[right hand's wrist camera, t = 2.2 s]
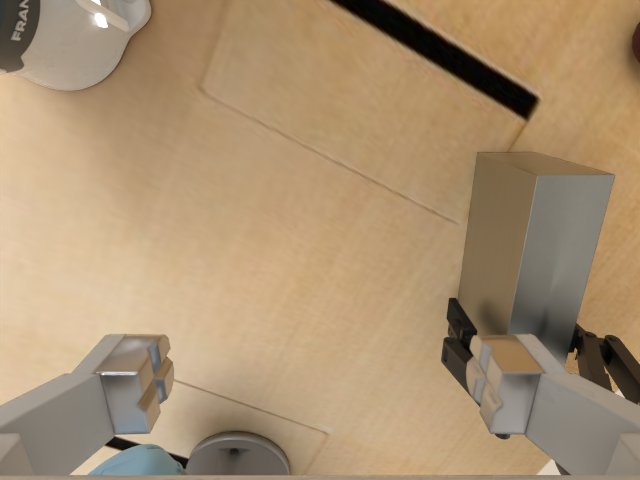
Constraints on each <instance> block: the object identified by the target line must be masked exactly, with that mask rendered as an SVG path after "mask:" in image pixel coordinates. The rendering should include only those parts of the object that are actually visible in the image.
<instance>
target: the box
mask: <svg viewBox="0 0 640 480" xmlns="http://www.w3.org/2000/svg"><path fill="white" fill-rule="evenodd" d="M614 178H615V174H611V173H607V172H604V171H600V170H597V169H593V168H590V167H586V166H582V165H579V164H575V163H572V162H568V161H564V160H561V159H557V158H554V157H550V156H546V155H543V154H539V153H536V152H481V153H477V160H476V167H475V175H474V182H473V190H472V197H471V205H470V212H469V220H468V227H467V235H466V242H465V250H464V257H463V265H462V272H461V280H460V287H459V295H458V302H459V304H460V305H461V307H462V308H463V310H464V311H465V313H466V314H467V316H468V317H469V319H470V320H471V322H472V323H473V325H474V326H475V328H476V329H477V335H511V334H532V335H534V336H536V337H537V338H538V340H539V341H540V342H541V343H542V344H543V345H544V346H545V347H546V349H547V350H548V351H549V352H550V353H551V354H552V355H553V356H554V357H555V359H556V360H557V361H558V362H559V363H560V364H561V365H562V366H563V367H565V363H566V359H567V355H568V352H569V348H570V344H571V340H572V336H573V333H574V329H575V325H576V321H577V318H578V314H579V310H580V306H581V302H582V299H583V295H584V291H585V287H586V283H587V280H588V276H589V272H590V268H591V265H592V261H593V257H594V253H595V249H596V246H597V242H598V238H599V234H600V231H601V227H602V223H603V219H604V215H605V212H606V208H607V204H608V200H609V197H610V193H611V189H612V185H613V181H614Z"/></svg>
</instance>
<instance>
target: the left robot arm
mask: <svg viewBox="0 0 640 480" xmlns="http://www.w3.org/2000/svg"><path fill="white" fill-rule="evenodd" d="M447 320H448V322H449V327H448V335H449V336H450V337H446V338H444V342H443V349H442V358H441V361H442V363H443V364H444V365H445V366H446V368H447V369H448V370H449V371H450V372H451V374H452V375H453V376H454V377H455V378H456V379H457V381H458V382H459V383H460V384H461V385H462V387H463V388H464V389H465V390H466V391H467V392H468V394H469V395H470V396H471V394H470V392H469V389H468V386H467V380H466V368H467V362H468V361H469V360H470V359H471V358H472V357H473V356H474V355H473V354H472V352H471V350H470V343H471V339H472V337H473V335H477V329H476V328H475V326H474V325H473V323H472V322H471V320H470V319H469V317H468V316H467V314H466V313H465V311H464V310H463V308H462V307H461V305H460V304H459V302H458V301H457V299H456V298H449V304H448V312H447ZM575 348H576V349H577V354H576V358H575V360H576V359H577V360H578V367H579V374H580V376H581V377H583V378H585V379H587V380H589V381H591V382H593V383H595V384H597V385H599V386H601V387H603V388H605V389H607V390H609V391H611V392H613V393H614V391H612V387H611V383H610V379H609V375H608V374H606V373H605V369H604V366H605V368H606V369H607V371H608V372H609V374H610V376H611V377H612V379H613V380H614V382H615V383H616V385H617V386H618V388H619V389H620V391H621V392H622V394H623V395H624V397H625V398H626V399H627V400H629V401H631V402H633V403H635V404H637V405H639V406H640V364H639V363H638V362H637V361H636V359H635V358H634V357H633V356H632V354H631V353H630V352H629V350H628V349H627V348H626V347H625V345H624V344H623V343H622V342H621V340H620V339H619V338H617V337H616V336H613V335H606V336H605V338H604V339H603V338H597V336H596V335H595V334H593V333H591V332H587V331H585V330H584V329H583V328H581V327H580V326H579V325H578V324H577V323H576V325H575V329H574V333H573V336H572V340H571V344H570V348H569V352H568V353H572V352H574V349H575ZM471 397H472V396H471ZM473 400H474V399H473ZM474 401H475V400H474ZM475 402H476V401H475ZM476 403H477V404H478V405H479V407H480V406H481V404H479V403H478V402H476ZM495 435H496V436H497V437H499V438H501V439H508V438H510V435H511V434H495ZM555 463H556V466H557V468H558V470H559V472H560V474H561V475H571V474H570V473H568V472H567V471H566V470H565V469H564V468H562V467H561V466H560V465H559V464H558V463H557V462H555ZM88 475H290V467H289V462H288V460H287V458H286V456H285V454H284V453H283V451H282V450H281V449H280V448H279V447H278V446H277V445H275V444H274V443H273V442H271V441H269V440H268V439H266V438H264V437H261V436H259V435H255V434H252V433H247V432H225V433H220V434H216V435H213V436H211V437H208V438H207V439H205V440H203V441H202V442H200V443H199V444H198V445H197V446H196V447H195V448H194V450H193V451H192V453H191V455H190V458H189V461H188V463H187V466H186V472H185V470H184V469H183V468H182V465H181V464H180V463H179V462H177V461H175V460H174V459H173V458H172V457H171V456H170V455H169V454H168V453H167V452H166V451H165V450H164V449H163V448H161V447H159V446H157V445H153V444H143V445H138V446H135V447H132V448H129V449H127V450H124V451H122V452H120V453H118V454H117V455H115V456H113V457H111V458H110V459H108V460H106V461H105V462H104V463H102V464H101V465H99V466H98V467H97V468H95V469H94V470H93V471H92V472H90V473H89V474H88Z"/></svg>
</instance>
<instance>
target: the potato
mask: <svg viewBox="0 0 640 480" xmlns="http://www.w3.org/2000/svg"><path fill="white" fill-rule="evenodd" d="M632 48H633V51H634V53H635V56H636V58H637V60H638V61H639V62H640V22H639V24H638V25H637V27H636V30H635V32H634V35H633V44H632Z"/></svg>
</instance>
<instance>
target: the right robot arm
mask: <svg viewBox="0 0 640 480" xmlns="http://www.w3.org/2000/svg"><path fill="white" fill-rule="evenodd" d="M150 16H151V5H150V2H149V0H0V75H2V74H5V73H9V74H13V75H17V76H20V77H23V78H26V79H28V80H30V81H32V82H34V83H36V84H39V85H41V86H44V87H47V88H51V89H55V90H63V91H74V90H81V89H85V88H88V87H91V86H93V85H95V84H97V83H99V82H100V81H102V80H103V79H105V78H106V77H107V76H108V75H109V74H110V73H111V72H112V71H113V70H114V68H115V67H116V66H117V64H118V63H119V61H120V59H121V57H122V55H123V52H124V50H125V48H126V45H127V43H128V41H129V39H130V38H131V36H132V35H134V34H135V33H136V32H137V31H139V30H140V29H141V28H142V27H143V26H144V25H145V24H146V23H147V22H148V20H149V19H150ZM169 350H170V344H169V339H168V337H167V336H166V335H150V334H109V335H105V336H104V337H103V338H102V340H101V341H100V342H99V343H98V344H97V345H96V346H95V347H94V349H93V350H92V351H91V352H90V353H89V354H88V355H87V356H86V357H85V359H84V360H83V361H82V362H81V363H80V364H79V365H78V366H77V367H76V369H75V370H74V371H73V372H72V373H71V374H63V375H61V376H59V377H57V378H55V379H53V380H51V381H49V382H47V383H45V384H43V385H41V386H39V387H37V388H35V389H33V390H31V391H29V392H27V393H25V394H23V395H21V396H19V397H17V398H15V399H13V400H11V401H9V402H7V403H5V404H3V405H1V406H0V480H640V406H639V405H637V404H635V403H633V402H631V401H629V400H627V399H625V398H623V397H621V396H619V395H617V394H615V393H613V392H611V391H609V390H607V389H605V388H603V387H601V386H599V385H597V384H595V383H593V382H591V381H589V380H587V379H585V378H583V377H581V376H579V375H577V374H569V373H568V372H567V371H566V370H565V369H564V367H563V366H562V365H561V364H560V363H559V362H558V361H557V360H556V359H555V357H554V356H553V355H552V354H551V353H550V352H549V351H548V350H547V349H546V347H545V346H544V345H543V344H542V343H541V342H540V341H539V340H538V338H537V337H536V336H534V335H532V334H511V335H473V337H472V339H471V343H470V350H471V352H472V354H473V355H474V356H473V357H472V358H471V359H470V360H469V361H468V362H467V368H466V380H467V386H468V389H469V392H470V394H471V396H472V398H473V399H474V400H475V401H476V402H478V403H479V404H481V406H480V414H481V416H482V418H483V420H484V422H485V424H486V426H487V428H488V430H489V432H490V434H522V435H525V436H526V437H527V438H528V439H529V440H530V441H532V442H533V443H534V444H535V445H536V446H538V447H539V448H540V449H541V450H542V451H543V452H545V453H546V454H547V455H548V456H549V457H551V458H552V459H553V460H554V461H555V462H557V463H558V464H559V465H560V466H561V467H562V468H564V469H565V470H566V471H567V472H568V473H570V474H571V475H69V474H71V473H72V472H73V471H74V470H75V469H76V468H78V467H79V466H80V465H81V464H82V463H84V462H85V461H86V460H87V459H88V458H90V457H91V456H92V455H93V454H94V453H96V452H97V451H98V450H99V449H100V448H101V447H103V446H104V445H105V444H106V443H107V442H109V441H110V440H111V439H112V438H113V437H114V435H118V434H150V432H151V430H152V428H153V426H154V424H155V422H156V420H157V418H158V416H159V414H160V406H159V404H161V403H162V402H164V401H165V400H166V399H167V398H168V396H169V394H170V392H171V390H172V385H173V381H174V367H173V362H172V361H171V360H170V359H169V358H168V357H167V356H166V355H167V354H168V352H169Z"/></svg>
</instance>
